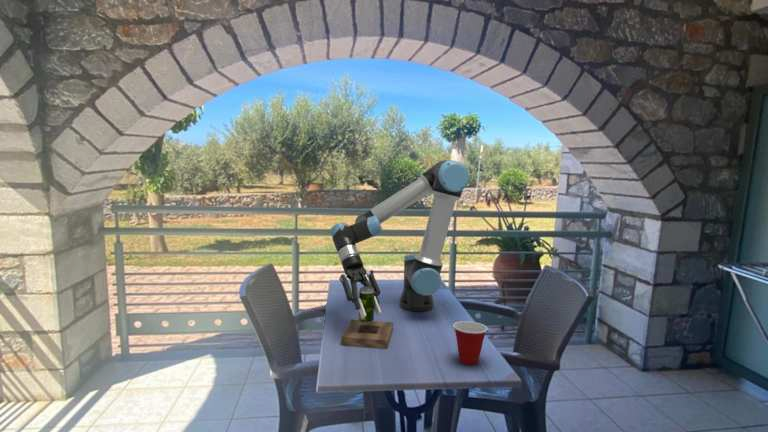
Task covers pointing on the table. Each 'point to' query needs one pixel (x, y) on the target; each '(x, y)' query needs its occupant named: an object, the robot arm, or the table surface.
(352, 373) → the table surface
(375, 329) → the socket block
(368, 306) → the beer can
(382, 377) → the table surface
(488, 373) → the table surface
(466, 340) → the plastic cup
